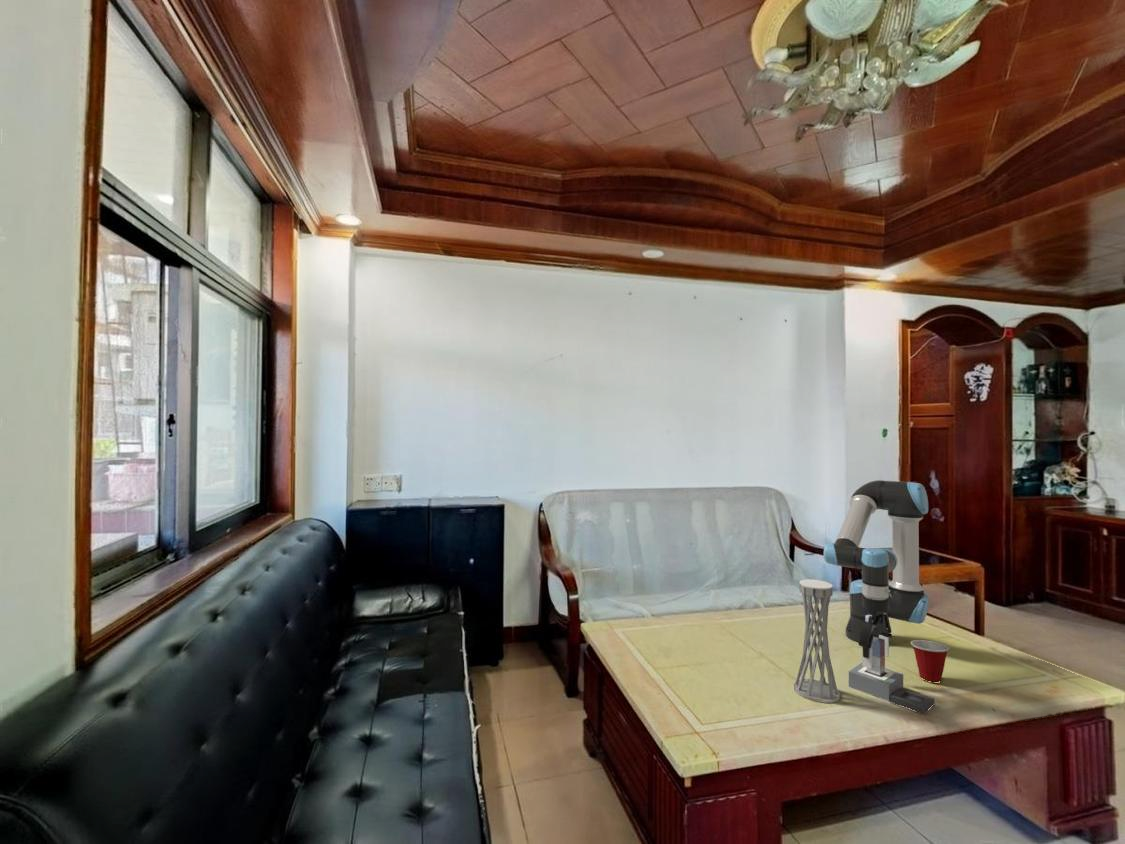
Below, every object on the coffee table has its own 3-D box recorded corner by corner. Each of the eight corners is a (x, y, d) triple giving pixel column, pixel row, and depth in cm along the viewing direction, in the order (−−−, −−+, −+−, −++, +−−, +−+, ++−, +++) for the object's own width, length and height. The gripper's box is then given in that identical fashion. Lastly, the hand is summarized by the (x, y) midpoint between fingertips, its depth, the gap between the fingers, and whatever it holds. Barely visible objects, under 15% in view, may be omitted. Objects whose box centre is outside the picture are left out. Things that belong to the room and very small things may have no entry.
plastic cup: (928, 670, 183) (928, 636, 183) (957, 685, 173) (957, 649, 173) (902, 673, 181) (902, 639, 181) (931, 688, 170) (930, 652, 170)
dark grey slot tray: (890, 702, 162) (890, 696, 162) (901, 693, 167) (901, 687, 167) (924, 715, 155) (924, 708, 155) (934, 705, 160) (934, 698, 160)
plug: (866, 684, 171) (866, 638, 171) (871, 680, 174) (871, 635, 174) (880, 689, 168) (879, 642, 168) (885, 685, 170) (884, 639, 171)
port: (848, 686, 172) (848, 670, 172) (863, 675, 179) (863, 660, 179) (889, 701, 162) (889, 684, 162) (903, 689, 170) (903, 673, 170)
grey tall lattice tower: (838, 707, 159) (837, 592, 159) (790, 695, 166) (790, 585, 166) (841, 688, 170) (840, 581, 171) (797, 678, 177) (796, 575, 178)
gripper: (872, 607, 160) (872, 676, 160) (902, 592, 176) (902, 654, 176) (846, 601, 166) (847, 667, 166) (878, 586, 182) (878, 647, 182)
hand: (875, 661), depth 171 cm, fingers open, 13 cm apart
